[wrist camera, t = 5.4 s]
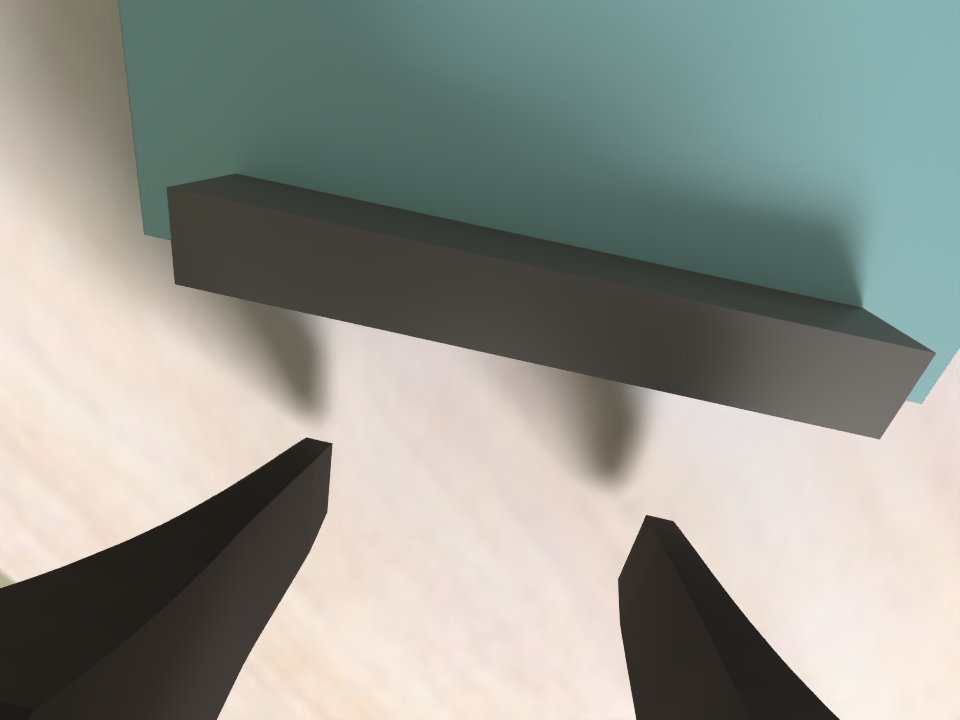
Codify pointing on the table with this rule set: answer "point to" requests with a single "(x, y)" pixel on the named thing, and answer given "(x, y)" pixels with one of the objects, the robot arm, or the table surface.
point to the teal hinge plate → (577, 182)
